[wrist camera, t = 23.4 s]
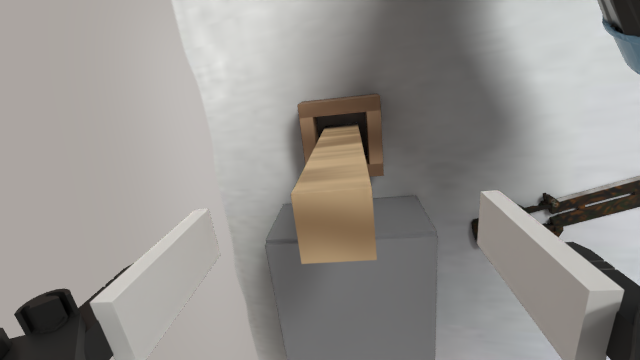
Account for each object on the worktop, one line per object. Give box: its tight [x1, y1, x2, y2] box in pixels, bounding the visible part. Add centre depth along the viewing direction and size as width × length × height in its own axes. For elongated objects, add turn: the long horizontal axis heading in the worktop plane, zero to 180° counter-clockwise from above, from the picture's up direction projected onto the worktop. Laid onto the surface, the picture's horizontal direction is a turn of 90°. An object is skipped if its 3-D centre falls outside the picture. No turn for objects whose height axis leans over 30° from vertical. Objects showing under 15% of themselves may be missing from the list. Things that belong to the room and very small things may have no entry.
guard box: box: [265, 196, 437, 360], centre depth 40 cm, size 28×18×10 cm, turn 6°
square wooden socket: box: [298, 94, 384, 177], centre depth 36 cm, size 9×9×4 cm
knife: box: [472, 176, 640, 242], centre depth 38 cm, size 25×6×1 cm, turn 106°
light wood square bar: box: [291, 123, 377, 264], centre depth 27 cm, size 4×4×24 cm
